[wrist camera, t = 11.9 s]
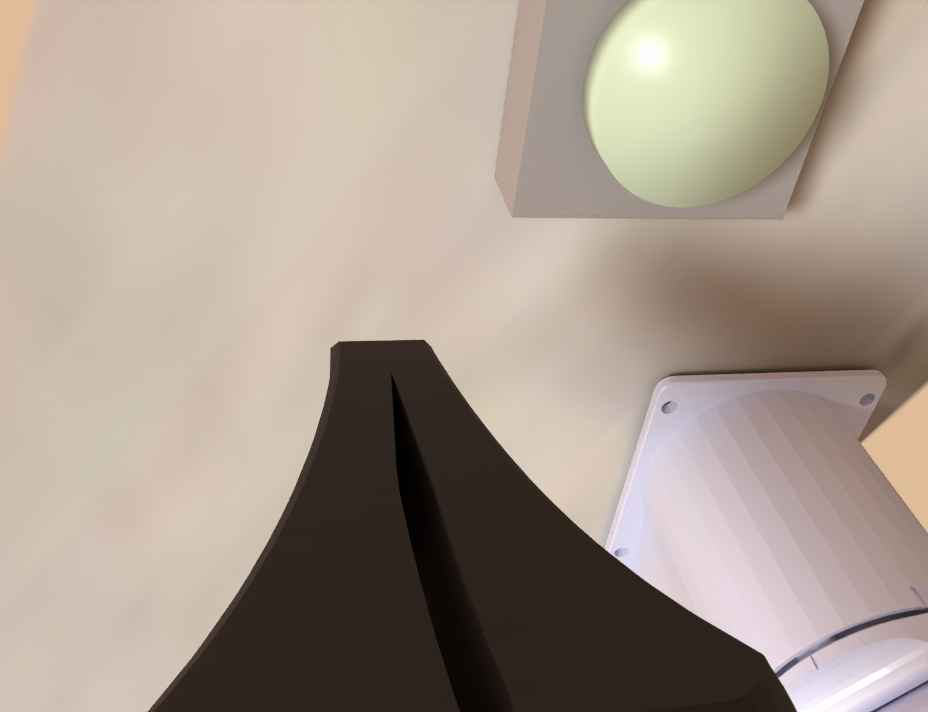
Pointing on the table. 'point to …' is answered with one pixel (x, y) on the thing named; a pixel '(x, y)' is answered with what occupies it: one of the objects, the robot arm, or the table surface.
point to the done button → (703, 94)
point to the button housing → (565, 135)
